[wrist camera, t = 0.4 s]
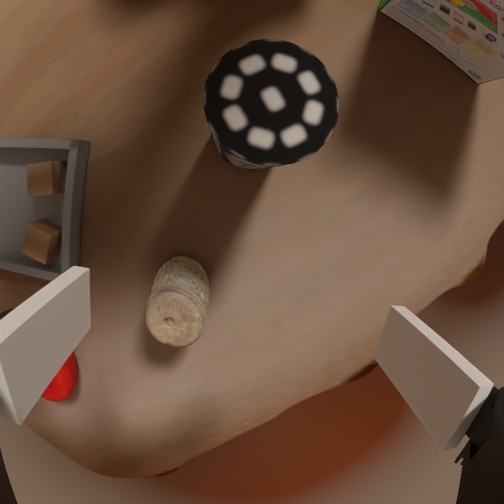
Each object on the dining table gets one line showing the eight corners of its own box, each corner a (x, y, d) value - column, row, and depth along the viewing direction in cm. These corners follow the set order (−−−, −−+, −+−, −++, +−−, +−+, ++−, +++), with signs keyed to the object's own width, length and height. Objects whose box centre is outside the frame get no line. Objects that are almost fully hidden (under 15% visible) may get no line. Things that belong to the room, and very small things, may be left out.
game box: (482, 63, 36) (603, 34, 9) (477, 86, 37) (607, 64, 10) (384, -12, 32) (486, -101, 6) (375, 9, 33) (488, -85, 7)
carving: (180, 314, 42) (166, 363, 30) (150, 266, 40) (123, 302, 28) (222, 293, 42) (221, 338, 30) (192, 242, 40) (179, 272, 28)
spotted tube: (295, 149, 38) (361, 130, 18) (235, 181, 38) (245, 190, 19) (263, 92, 36) (297, 22, 16) (202, 123, 36) (179, 74, 17)
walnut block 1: (42, 164, 35) (26, 164, 31) (66, 161, 35) (51, 160, 31) (43, 194, 36) (27, 197, 32) (67, 191, 36) (52, 194, 32)
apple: (40, 365, 42) (19, 391, 35) (39, 322, 41) (15, 345, 33) (85, 385, 44) (69, 414, 36) (88, 342, 42) (68, 370, 34)
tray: (-36, 141, 32) (-50, 140, 29) (90, 141, 35) (79, 139, 32) (-40, 249, 36) (-53, 254, 33) (79, 276, 39) (69, 284, 36)
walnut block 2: (43, 218, 36) (27, 223, 32) (65, 229, 37) (51, 235, 33) (36, 245, 37) (21, 252, 33) (58, 256, 38) (44, 264, 34)
